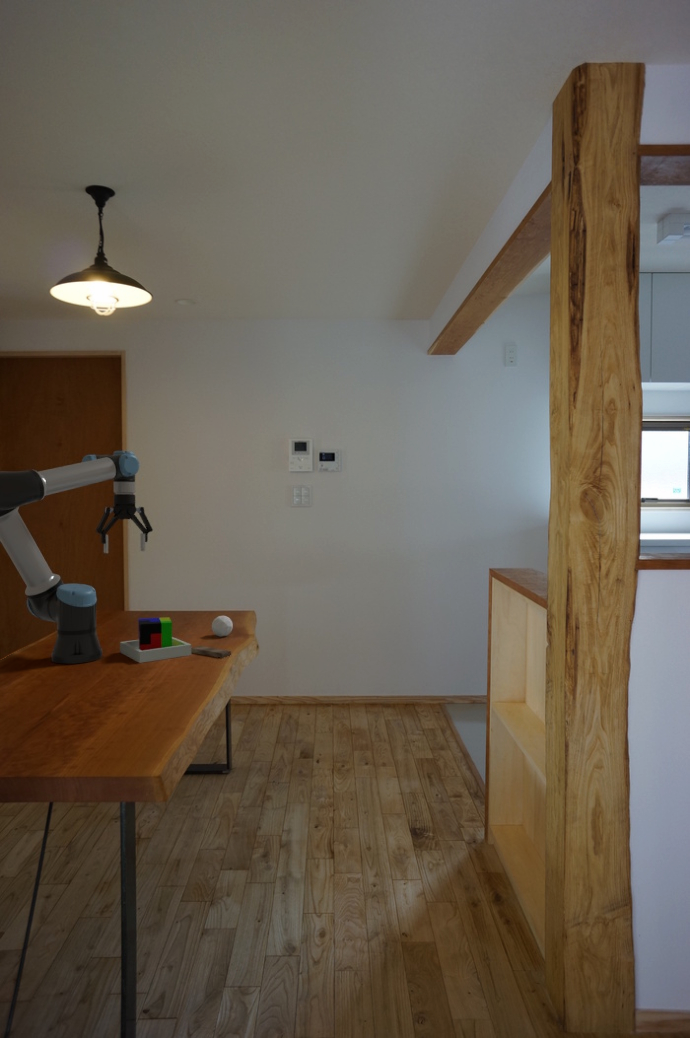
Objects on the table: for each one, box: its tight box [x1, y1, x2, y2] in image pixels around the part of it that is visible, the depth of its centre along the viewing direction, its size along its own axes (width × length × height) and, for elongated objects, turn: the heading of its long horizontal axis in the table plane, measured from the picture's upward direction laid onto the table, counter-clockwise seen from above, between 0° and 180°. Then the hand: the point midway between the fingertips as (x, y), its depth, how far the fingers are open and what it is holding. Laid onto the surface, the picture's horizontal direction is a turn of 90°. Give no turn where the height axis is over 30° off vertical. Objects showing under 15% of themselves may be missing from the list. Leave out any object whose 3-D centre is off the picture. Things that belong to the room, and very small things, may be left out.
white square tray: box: [119, 636, 192, 664], centre depth 222 cm, size 17×17×4 cm
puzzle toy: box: [138, 616, 173, 651], centre depth 222 cm, size 10×10×10 cm
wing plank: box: [191, 645, 232, 659], centre depth 222 cm, size 14×4×2 cm, turn 58°
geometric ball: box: [211, 615, 234, 638], centre depth 250 cm, size 8×8×8 cm
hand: (124, 552), depth 244 cm, fingers open, 13 cm apart
